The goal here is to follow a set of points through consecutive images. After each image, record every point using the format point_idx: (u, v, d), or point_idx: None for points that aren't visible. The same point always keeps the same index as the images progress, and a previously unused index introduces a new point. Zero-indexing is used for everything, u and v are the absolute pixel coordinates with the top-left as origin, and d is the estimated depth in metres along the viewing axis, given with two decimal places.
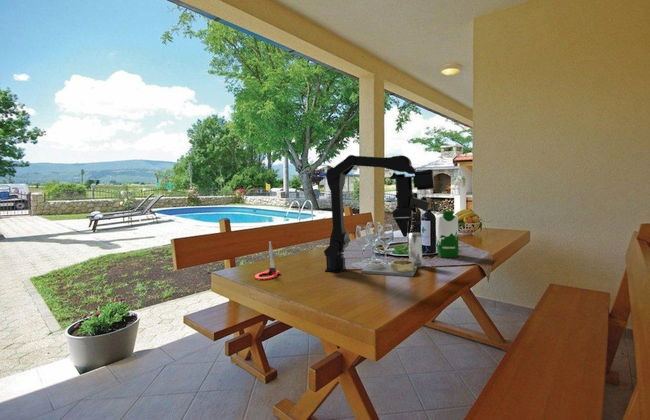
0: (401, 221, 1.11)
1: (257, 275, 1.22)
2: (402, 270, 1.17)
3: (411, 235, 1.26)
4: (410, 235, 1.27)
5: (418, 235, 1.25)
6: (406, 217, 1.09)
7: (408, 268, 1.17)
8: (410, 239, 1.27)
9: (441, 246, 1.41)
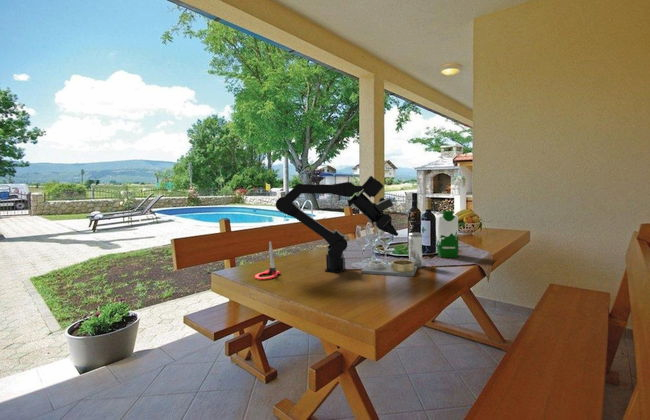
0: (386, 226, 1.21)
1: (257, 275, 1.22)
2: (402, 270, 1.17)
3: (411, 235, 1.26)
4: (410, 235, 1.27)
5: (418, 235, 1.25)
6: None
7: (408, 268, 1.17)
8: (410, 239, 1.27)
9: (441, 246, 1.41)
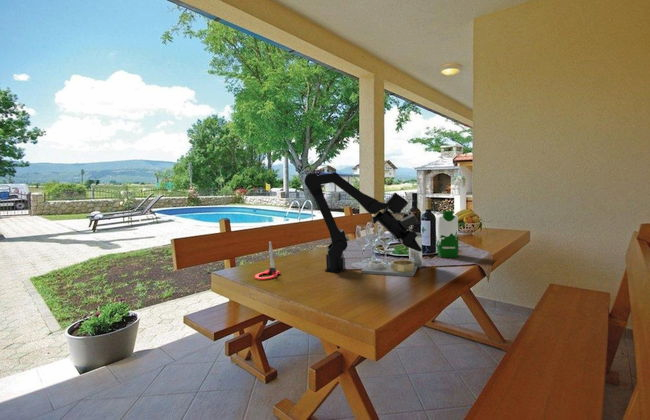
0: (410, 242, 1.24)
1: (257, 275, 1.22)
2: (402, 270, 1.17)
3: None
4: None
5: (418, 235, 1.25)
6: None
7: (408, 268, 1.17)
8: None
9: (441, 246, 1.41)
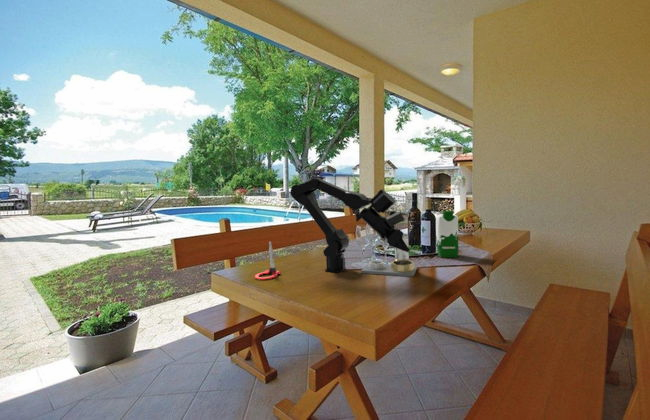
0: (396, 242, 1.15)
1: (257, 275, 1.22)
2: (402, 270, 1.17)
3: None
4: None
5: (404, 236, 1.18)
6: None
7: (408, 268, 1.17)
8: None
9: (441, 246, 1.41)
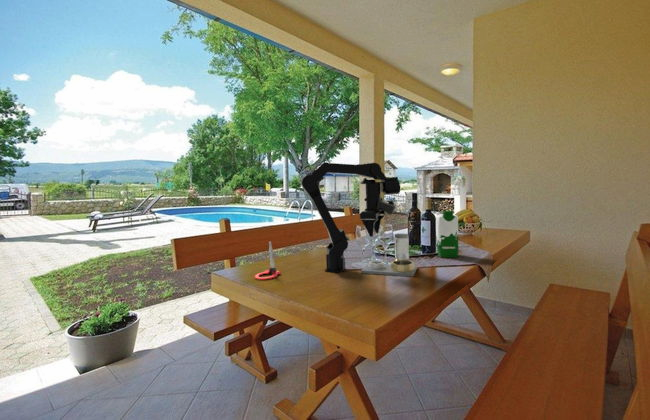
0: (368, 222, 1.24)
1: (257, 275, 1.22)
2: (402, 270, 1.17)
3: (397, 236, 1.19)
4: (396, 236, 1.19)
5: (404, 236, 1.18)
6: (371, 219, 1.21)
7: (408, 268, 1.17)
8: (396, 240, 1.19)
9: (441, 246, 1.41)
